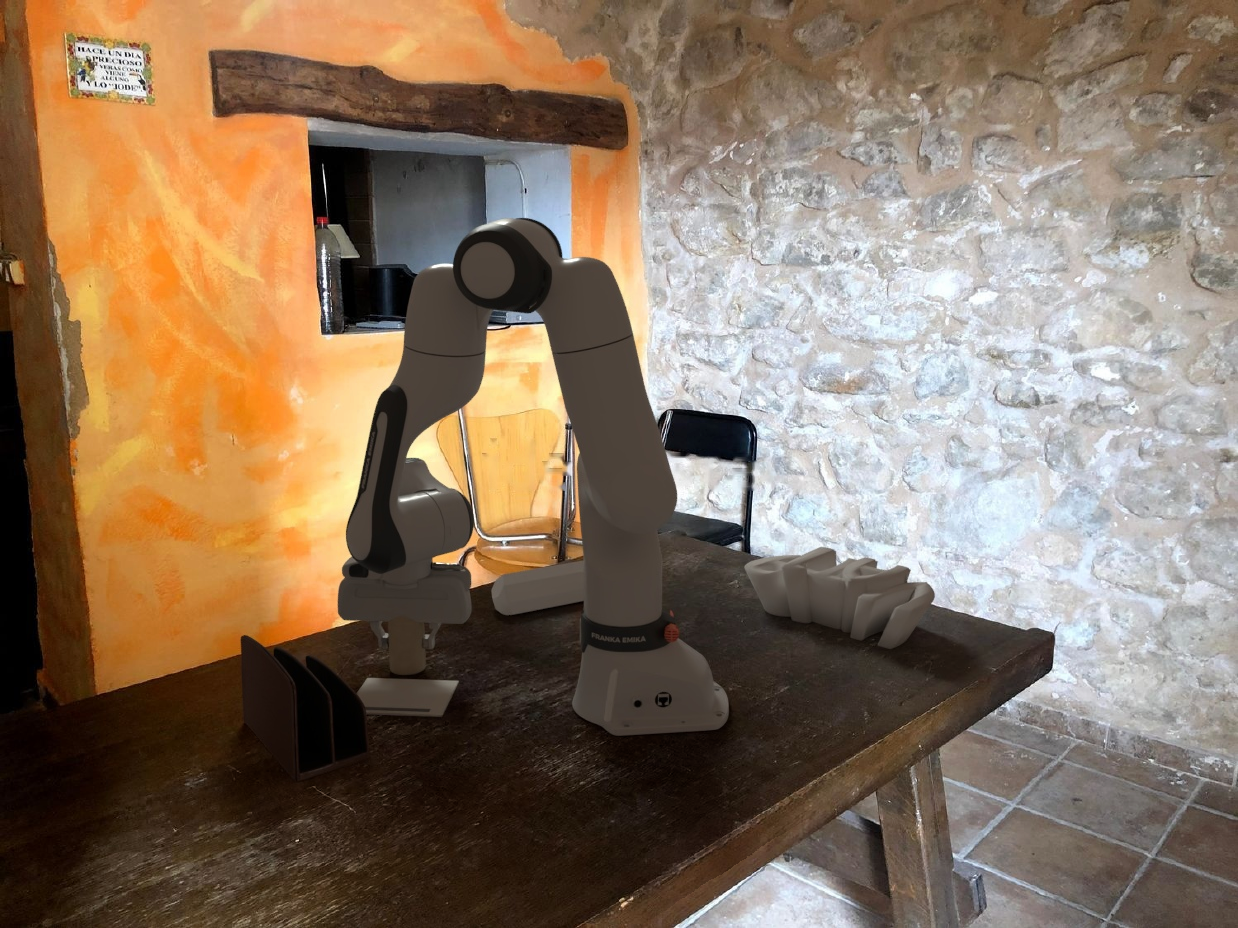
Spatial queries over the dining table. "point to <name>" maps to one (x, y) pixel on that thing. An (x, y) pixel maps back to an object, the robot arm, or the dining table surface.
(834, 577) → the wavy white extrusion
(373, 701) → the white rectangular plate
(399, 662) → the candle
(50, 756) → the dining table surface
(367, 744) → the letter holder
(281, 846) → the dining table surface
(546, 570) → the grey chamfered bar
